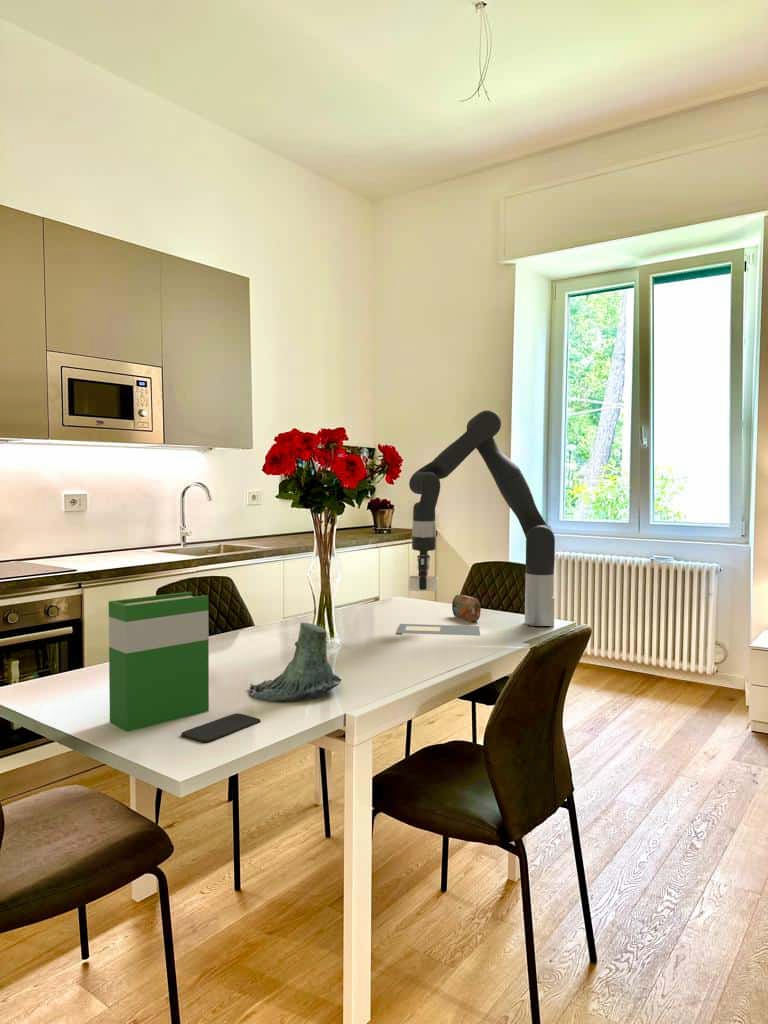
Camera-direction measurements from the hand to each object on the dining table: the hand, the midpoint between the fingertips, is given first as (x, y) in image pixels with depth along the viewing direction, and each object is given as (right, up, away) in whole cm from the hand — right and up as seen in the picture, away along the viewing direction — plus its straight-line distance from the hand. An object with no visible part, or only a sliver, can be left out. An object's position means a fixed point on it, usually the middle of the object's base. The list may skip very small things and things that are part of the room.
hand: (423, 587), depth 228 cm
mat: (+5, -14, 0) cm, 15 cm away
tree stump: (-33, -17, -66) cm, 75 cm away
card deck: (0, -1, 0) cm, 1 cm away
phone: (-44, -18, -90) cm, 102 cm away
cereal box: (-58, -17, -84) cm, 103 cm away
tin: (+16, -13, +18) cm, 27 cm away
